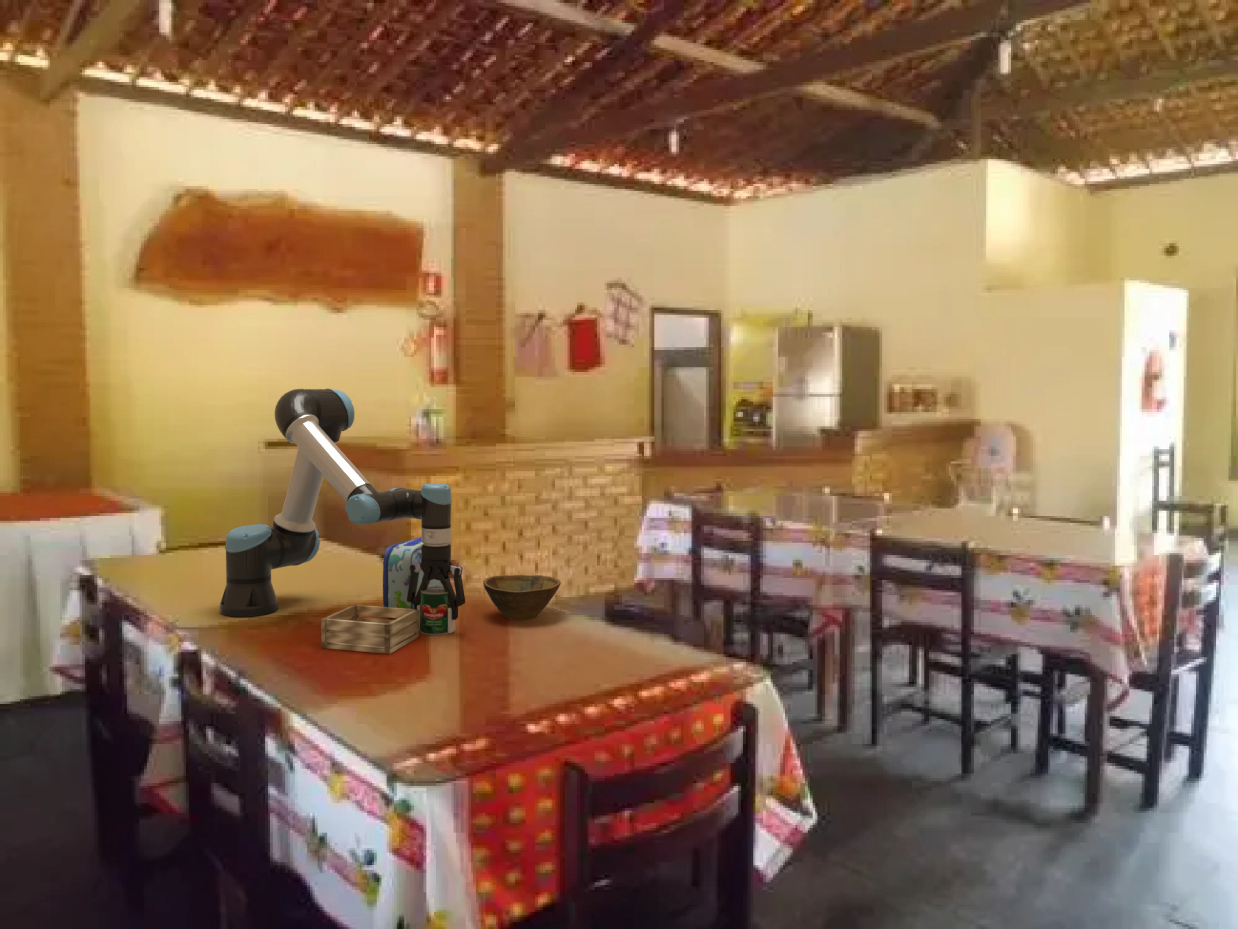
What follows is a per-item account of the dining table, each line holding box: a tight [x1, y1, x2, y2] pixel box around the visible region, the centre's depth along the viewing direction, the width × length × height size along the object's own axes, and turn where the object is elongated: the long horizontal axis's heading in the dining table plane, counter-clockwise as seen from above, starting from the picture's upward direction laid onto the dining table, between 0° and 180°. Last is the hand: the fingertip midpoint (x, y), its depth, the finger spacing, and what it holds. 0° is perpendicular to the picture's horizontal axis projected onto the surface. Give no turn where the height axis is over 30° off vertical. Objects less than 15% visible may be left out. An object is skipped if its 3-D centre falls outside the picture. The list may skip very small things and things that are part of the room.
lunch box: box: [382, 536, 443, 609], centre depth 265 cm, size 26×11×21 cm, turn 168°
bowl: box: [482, 574, 561, 621], centre depth 263 cm, size 22×23×10 cm
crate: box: [320, 604, 420, 655], centre depth 234 cm, size 18×16×7 cm
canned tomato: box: [419, 587, 451, 636], centre depth 245 cm, size 8×8×11 cm
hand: (435, 630), depth 246 cm, fingers closed on canned tomato, 8 cm apart
